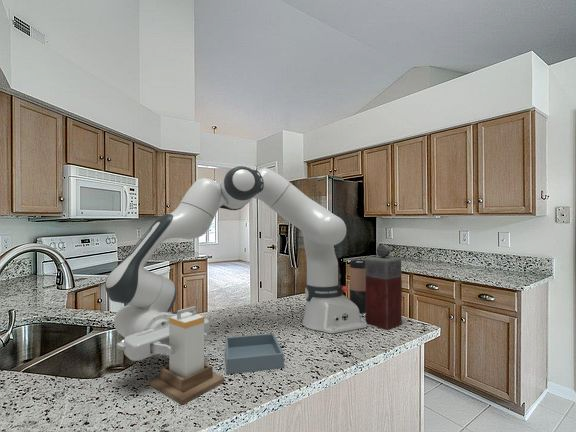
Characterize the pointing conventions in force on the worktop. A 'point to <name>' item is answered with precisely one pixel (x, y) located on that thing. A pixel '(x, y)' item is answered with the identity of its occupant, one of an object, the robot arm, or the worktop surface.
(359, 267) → the travel mug
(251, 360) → the tray
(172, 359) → the tall lidded canister
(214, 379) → the dock
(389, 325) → the red square storage jar
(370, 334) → the worktop surface
